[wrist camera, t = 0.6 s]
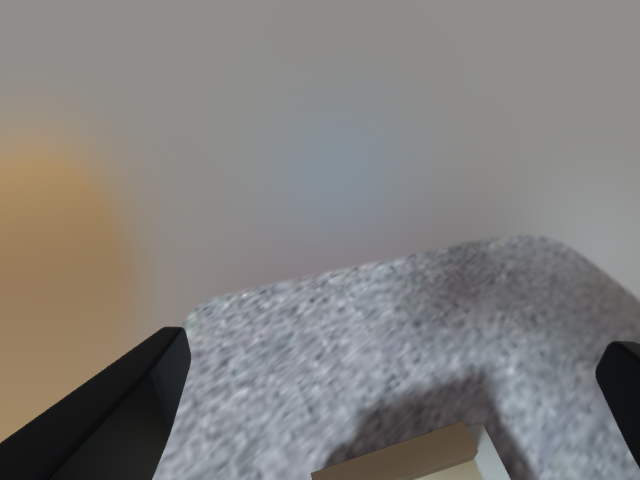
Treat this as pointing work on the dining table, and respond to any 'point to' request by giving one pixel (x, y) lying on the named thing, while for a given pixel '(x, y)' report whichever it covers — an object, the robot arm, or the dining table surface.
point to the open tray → (427, 458)
